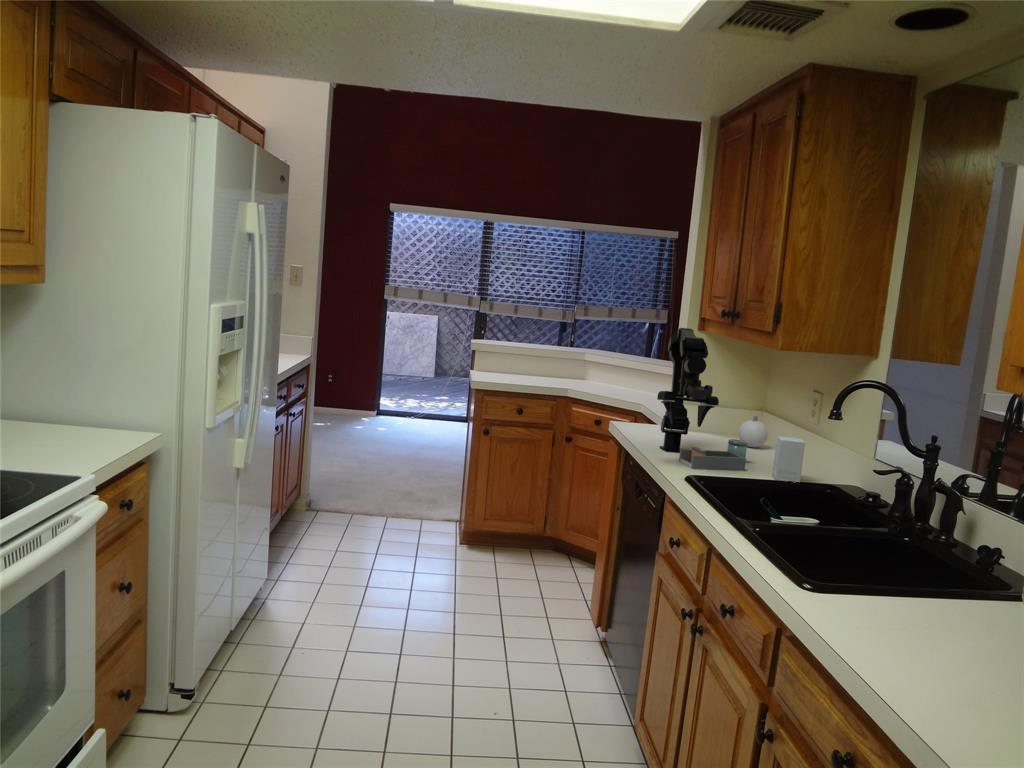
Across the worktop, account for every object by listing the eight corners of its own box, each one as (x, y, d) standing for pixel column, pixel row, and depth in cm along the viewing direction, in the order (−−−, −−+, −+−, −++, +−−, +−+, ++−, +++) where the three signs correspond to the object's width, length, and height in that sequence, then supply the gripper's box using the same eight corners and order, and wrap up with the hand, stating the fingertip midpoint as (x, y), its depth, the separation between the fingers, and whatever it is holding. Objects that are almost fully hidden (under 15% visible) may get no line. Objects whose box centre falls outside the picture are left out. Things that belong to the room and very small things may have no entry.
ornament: (756, 451, 278) (760, 418, 277) (732, 445, 286) (736, 413, 284) (771, 449, 285) (775, 417, 284) (747, 443, 293) (750, 412, 291)
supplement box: (800, 483, 231) (805, 442, 230) (774, 480, 233) (780, 439, 231) (796, 477, 238) (801, 438, 237) (771, 474, 240) (776, 435, 238)
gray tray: (678, 461, 248) (680, 449, 247) (729, 463, 252) (730, 451, 251) (692, 468, 238) (694, 456, 238) (744, 470, 242) (746, 458, 242)
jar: (722, 459, 258) (725, 438, 257) (739, 459, 259) (741, 439, 258) (731, 463, 252) (734, 442, 251) (748, 464, 253) (751, 443, 252)
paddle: (689, 461, 247) (691, 446, 247) (694, 462, 248) (696, 447, 247) (700, 467, 240) (701, 451, 239) (704, 467, 240) (706, 452, 240)
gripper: (674, 372, 231) (669, 423, 230) (729, 379, 235) (725, 429, 235) (658, 373, 242) (654, 422, 241) (712, 380, 246) (707, 428, 246)
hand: (685, 425), depth 240 cm, fingers open, 9 cm apart
